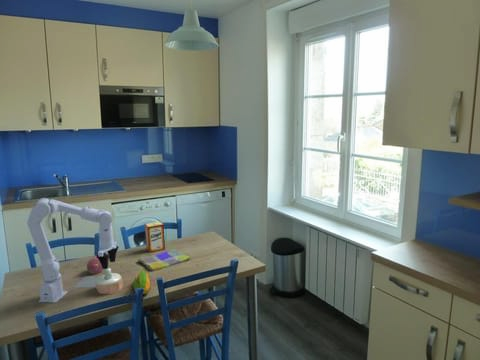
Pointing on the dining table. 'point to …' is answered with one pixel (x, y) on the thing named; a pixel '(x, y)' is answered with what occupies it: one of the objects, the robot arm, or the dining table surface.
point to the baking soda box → (155, 236)
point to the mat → (87, 282)
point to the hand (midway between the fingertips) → (109, 265)
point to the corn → (142, 282)
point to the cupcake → (94, 266)
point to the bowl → (110, 287)
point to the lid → (107, 278)
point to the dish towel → (163, 260)
